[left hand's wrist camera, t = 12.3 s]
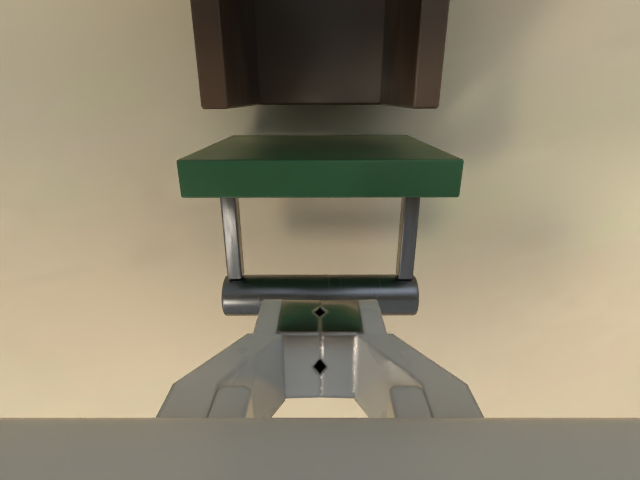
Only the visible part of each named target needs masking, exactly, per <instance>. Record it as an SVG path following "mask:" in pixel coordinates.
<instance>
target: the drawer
mask: <svg viewBox="0 0 640 480" xmlns="http://www.w3.org/2000/svg"><path fill="white" fill-rule="evenodd" d="M449 1H450V0H190V2H191V12H192V21H193V31H194V40H195V50H196V59H197V69H198V78H199V88H200V97H201V106H202V108H203V109H229V108H237V107H245V106H253V105H389V106H397V107H406V108H414V109H435V108H438V106H439V98H440V88H441V79H442V69H443V59H444V49H445V40H446V30H447V20H448V11H449ZM463 163H464V161H463V160H462V159H460V158H458V157H455V156H453V155H451V154H449V153H446V152H444V151H442V150H439V149H437V148H435V147H433V146H430V145H428V144H426V143H423V142H421V141H419V140H416V139H414V138H412V137H410V136H407V135H237V136H231V137H229V138H226V139H224V140H222V141H220V142H217V143H215V144H213V145H211V146H208V147H206V148H204V149H202V150H199V151H197V152H195V153H193V154H190V155H188V156H186V157H184V158H181V159H179V160H177V168H178V175H179V183H180V190H181V196H182V197H183V198H220V201H221V211H222V222H223V232H224V242H225V253H226V263H227V273H228V275H227V276H226V277H225V279H224V282H223V287H222V308H223V312H224V314H225V315H227V316H258V314H259V311H260V307H261V304H262V301H263V300H274V299H282V300H320V301H326V300H369V299H376V300H377V301H378V304H379V308H380V311H381V315H415V314H416V313H417V310H418V305H419V290H418V284H417V280H416V278H415V276H414V275H413V269H414V259H415V248H416V237H417V227H418V216H419V205H420V197H459V193H460V185H461V178H462V170H463ZM295 197H402V201H401V214H400V227H399V240H398V253H397V266H396V274H397V275H244V263H243V250H242V238H241V225H240V212H239V200H238V198H295Z"/></svg>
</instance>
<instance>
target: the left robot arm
mask: <svg viewBox="0 0 640 480" xmlns="http://www.w3.org/2000/svg"><path fill="white" fill-rule="evenodd" d="M313 397H326V398H355V401H356V402H357V403H358V404H359V406H360V407H361V408H362V409H363V411H364V412H365V413H366V414H367V416H368V417H369V418H271V417H272V416H273V415H274V413H275V412H276V411H277V410H278V408H279V407H280V406H281V405H282V404H283V402H284V401H285V398H313ZM0 480H640V418H484V416H483V414H482V412H481V410H480V408H479V406H478V404H477V402H476V401H475V399H474V397H473V395H472V393H471V391H470V389H469V387H468V385H467V384H466V383H464V382H463V381H461V380H460V379H458V378H457V377H455V376H454V375H453V374H451V373H450V372H448V371H447V370H445V369H444V368H442V367H441V366H439V365H438V364H436V363H435V362H433V361H432V360H430V359H429V358H427V357H426V356H424V355H423V354H422V353H420V352H419V351H417V350H416V349H414V348H413V347H411V346H410V345H408V344H407V343H405V342H404V341H402V340H401V339H399V338H398V337H396V336H395V335H393V334H387V332H386V329H385V325H384V322H383V318H382V315H381V311H380V308H379V304H378V301H377V300H376V299H369V300H326V301H320V300H282V299H274V300H263V301H262V304H261V307H260V311H259V314H258V318H257V321H256V325H255V328H254V332H253V334H247V335H245V336H244V337H242V338H241V339H239V340H238V341H236V342H235V343H233V344H232V345H230V346H229V347H227V348H226V349H224V350H223V351H221V352H220V353H218V354H217V355H215V356H214V357H212V358H211V359H209V360H208V361H207V362H205V363H204V364H202V365H201V366H199V367H198V368H196V369H195V370H193V371H192V372H190V373H189V374H187V375H186V376H184V377H183V378H181V379H180V380H178V381H177V382H175V383H174V384H173V385H172V387H171V389H170V391H169V393H168V395H167V397H166V399H165V401H164V403H163V405H162V407H161V409H160V410H159V412H158V414H157V416H156V418H0Z"/></svg>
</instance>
